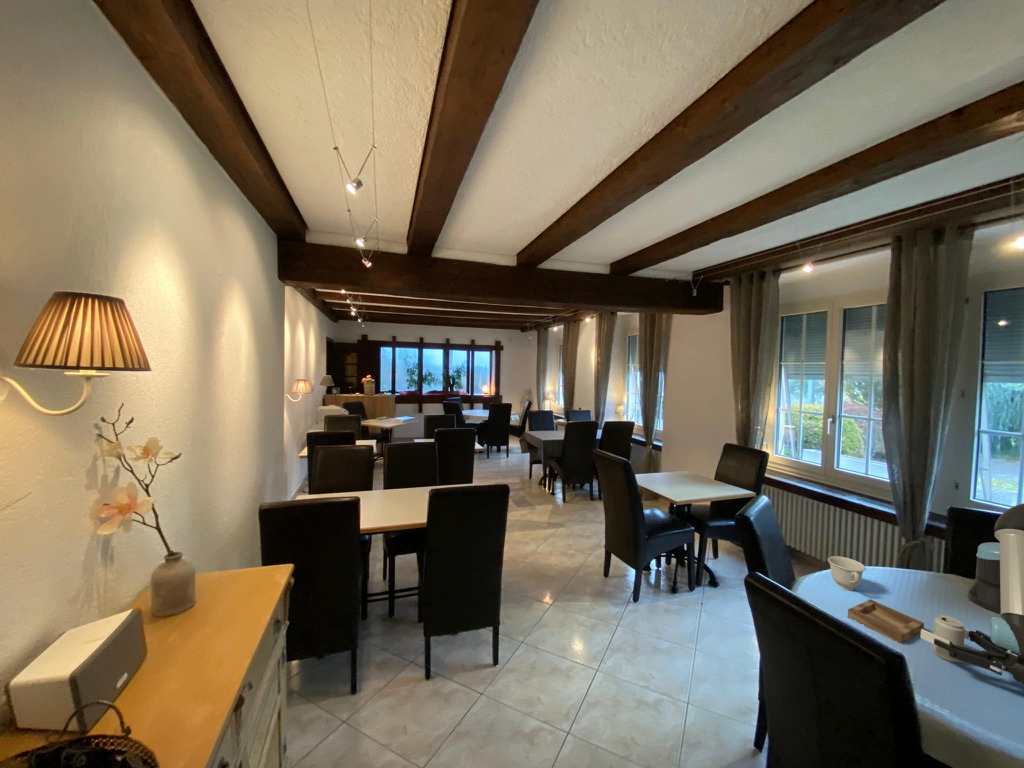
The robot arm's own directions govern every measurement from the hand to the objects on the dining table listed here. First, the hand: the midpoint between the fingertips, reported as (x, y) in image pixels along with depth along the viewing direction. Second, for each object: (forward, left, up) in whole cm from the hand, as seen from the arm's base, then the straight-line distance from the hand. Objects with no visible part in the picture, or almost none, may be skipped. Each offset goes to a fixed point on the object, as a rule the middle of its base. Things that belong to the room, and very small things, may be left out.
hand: (930, 627), depth 128 cm
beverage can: (0, +4, -7) cm, 8 cm away
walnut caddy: (-2, -12, -7) cm, 14 cm away
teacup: (-16, -30, -7) cm, 35 cm away
